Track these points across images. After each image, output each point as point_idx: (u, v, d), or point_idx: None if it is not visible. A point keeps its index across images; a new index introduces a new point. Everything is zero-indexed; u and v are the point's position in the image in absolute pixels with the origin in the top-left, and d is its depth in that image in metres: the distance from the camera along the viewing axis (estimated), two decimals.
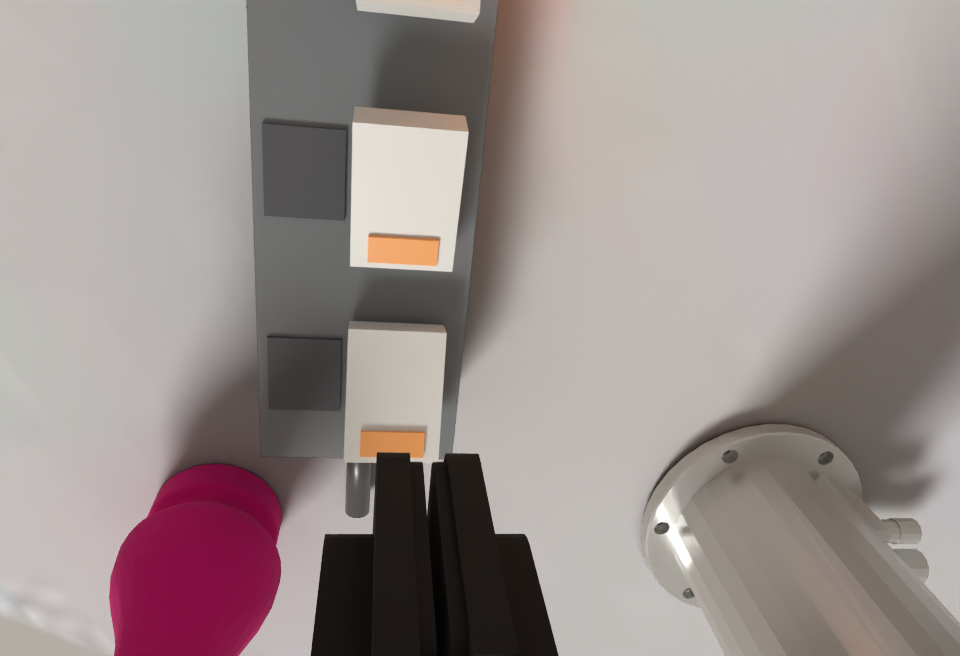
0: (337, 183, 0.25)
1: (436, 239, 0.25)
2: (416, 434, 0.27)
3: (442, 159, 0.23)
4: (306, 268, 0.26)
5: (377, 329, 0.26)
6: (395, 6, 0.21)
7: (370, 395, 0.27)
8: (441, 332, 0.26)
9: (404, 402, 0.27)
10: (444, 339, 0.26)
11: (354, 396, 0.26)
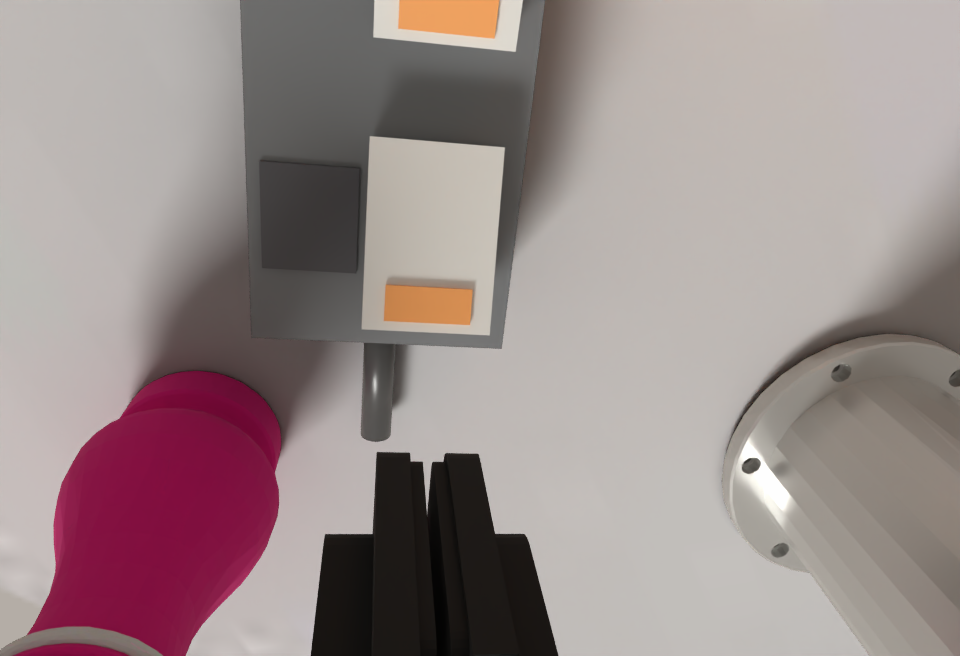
0: None
1: None
2: (461, 291, 0.20)
3: None
4: (312, 59, 0.19)
5: (409, 139, 0.19)
6: None
7: (400, 234, 0.19)
8: (497, 147, 0.19)
9: (445, 246, 0.20)
10: (501, 156, 0.19)
11: (377, 235, 0.19)
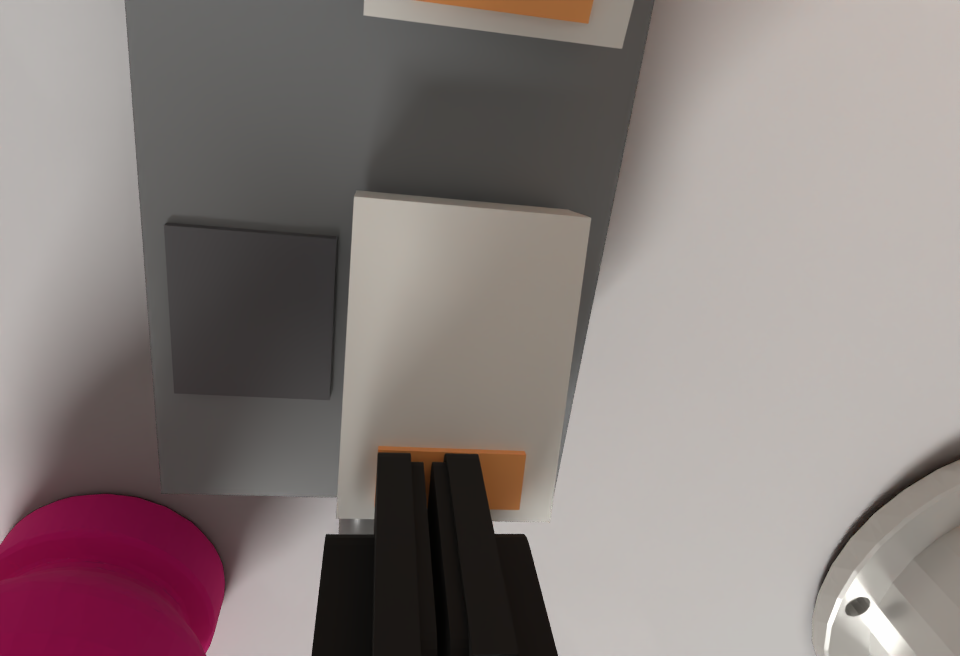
0: None
1: None
2: (507, 457, 0.12)
3: None
4: (254, 52, 0.11)
5: (425, 202, 0.11)
6: None
7: (404, 365, 0.11)
8: (577, 216, 0.11)
9: (482, 382, 0.11)
10: (585, 233, 0.11)
11: (365, 365, 0.11)
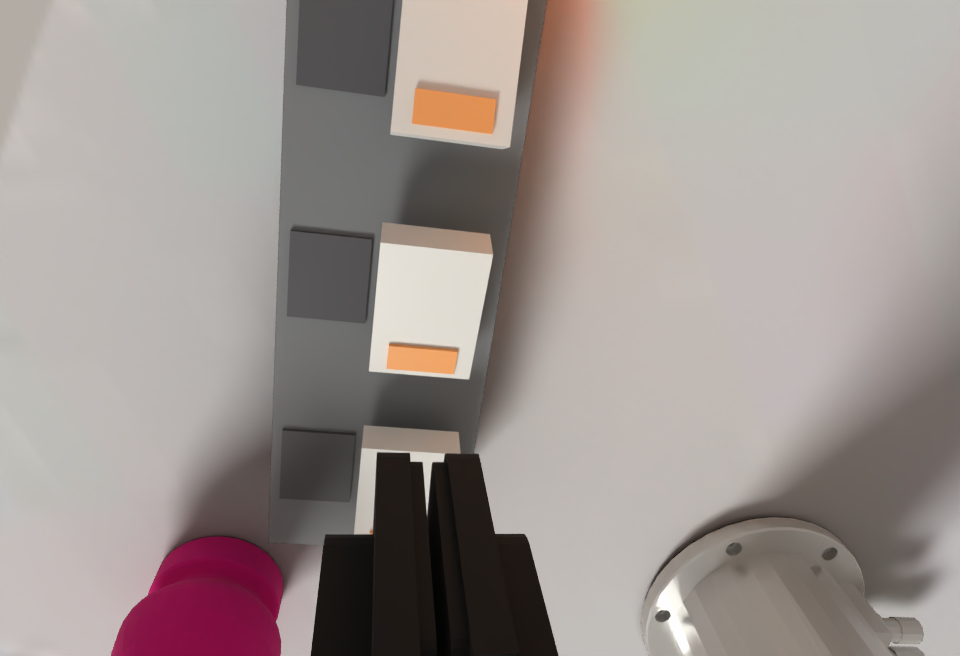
0: (360, 288, 0.26)
1: (456, 349, 0.25)
2: None
3: (466, 278, 0.23)
4: (324, 366, 0.27)
5: (391, 447, 0.26)
6: (428, 137, 0.21)
7: None
8: None
9: None
10: None
11: (365, 503, 0.27)
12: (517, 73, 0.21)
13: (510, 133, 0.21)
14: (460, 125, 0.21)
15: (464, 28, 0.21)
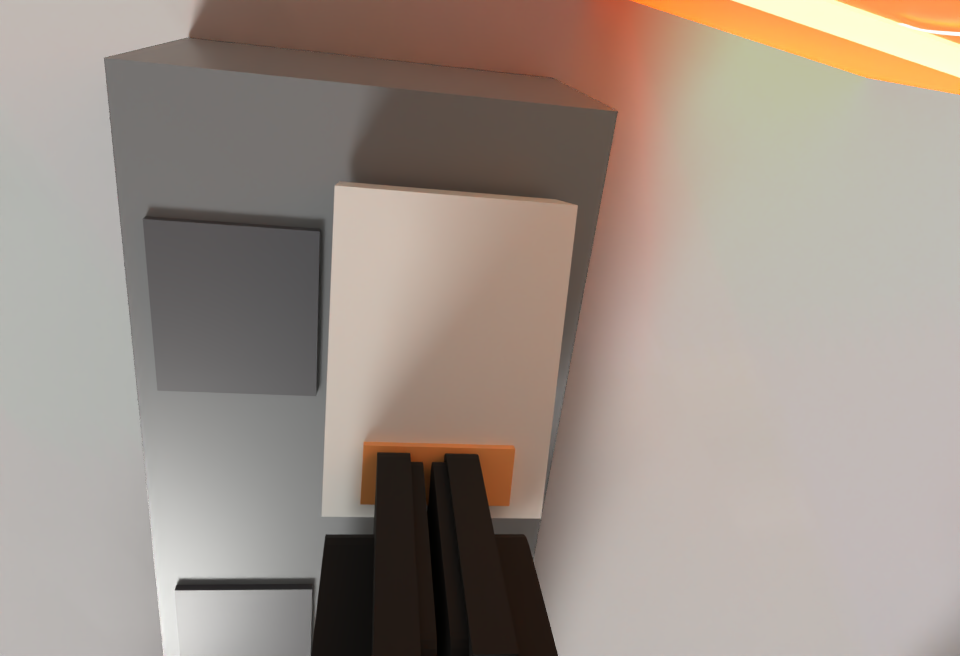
0: (298, 650, 0.16)
1: None
2: None
3: None
4: None
5: None
6: None
7: None
8: None
9: None
10: None
11: None
12: (552, 397, 0.11)
13: (541, 496, 0.12)
14: None
15: (452, 330, 0.11)
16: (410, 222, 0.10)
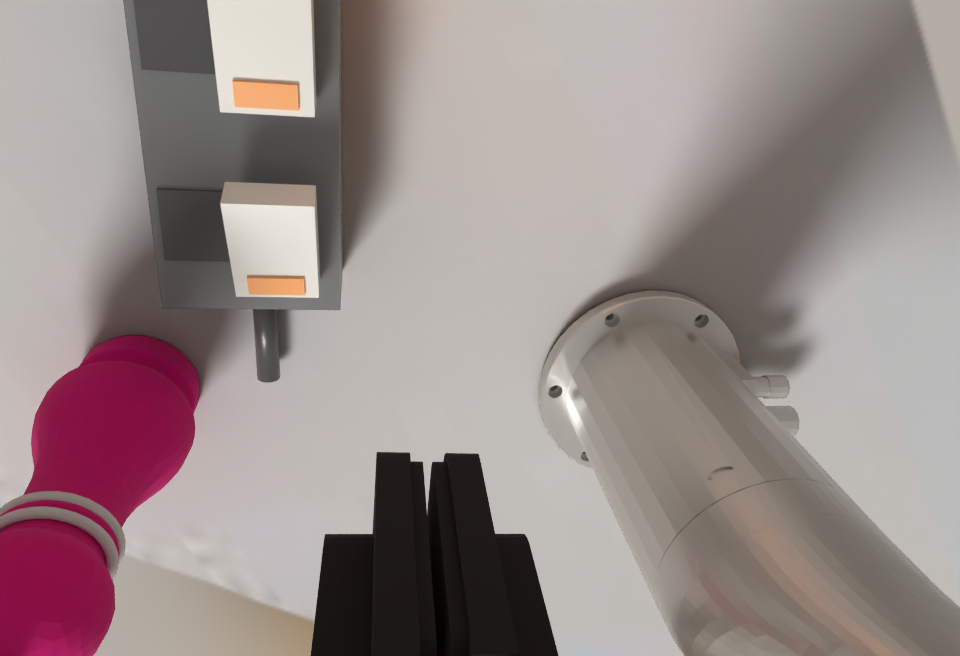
0: (206, 38, 0.28)
1: (296, 84, 0.27)
2: (296, 280, 0.31)
3: (290, 3, 0.26)
4: (186, 122, 0.29)
5: (248, 202, 0.28)
6: None
7: (251, 251, 0.30)
8: (309, 205, 0.28)
9: (282, 256, 0.30)
10: (312, 211, 0.29)
11: (236, 252, 0.30)
12: None
13: None
14: None
15: None
16: None
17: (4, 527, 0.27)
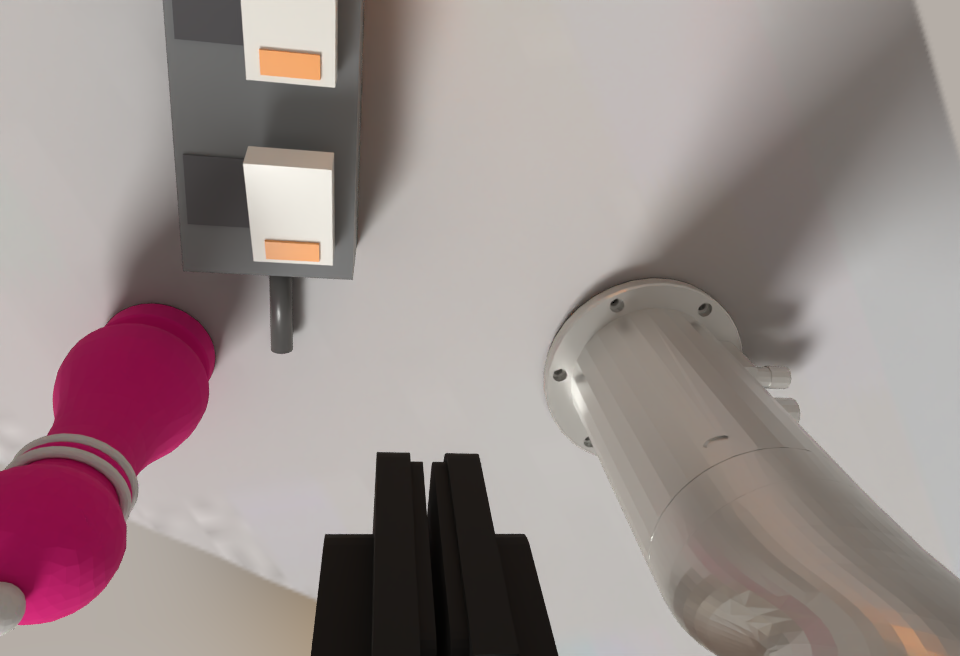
0: (236, 10, 0.30)
1: (318, 54, 0.29)
2: (311, 245, 0.32)
3: None
4: (214, 90, 0.31)
5: (269, 163, 0.30)
6: None
7: (270, 215, 0.31)
8: (327, 168, 0.30)
9: (299, 221, 0.32)
10: (330, 175, 0.30)
11: (256, 215, 0.31)
12: None
13: None
14: None
15: None
16: None
17: (25, 464, 0.28)
